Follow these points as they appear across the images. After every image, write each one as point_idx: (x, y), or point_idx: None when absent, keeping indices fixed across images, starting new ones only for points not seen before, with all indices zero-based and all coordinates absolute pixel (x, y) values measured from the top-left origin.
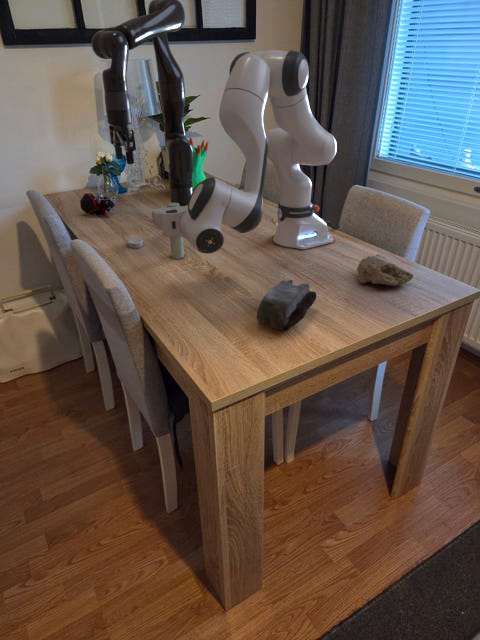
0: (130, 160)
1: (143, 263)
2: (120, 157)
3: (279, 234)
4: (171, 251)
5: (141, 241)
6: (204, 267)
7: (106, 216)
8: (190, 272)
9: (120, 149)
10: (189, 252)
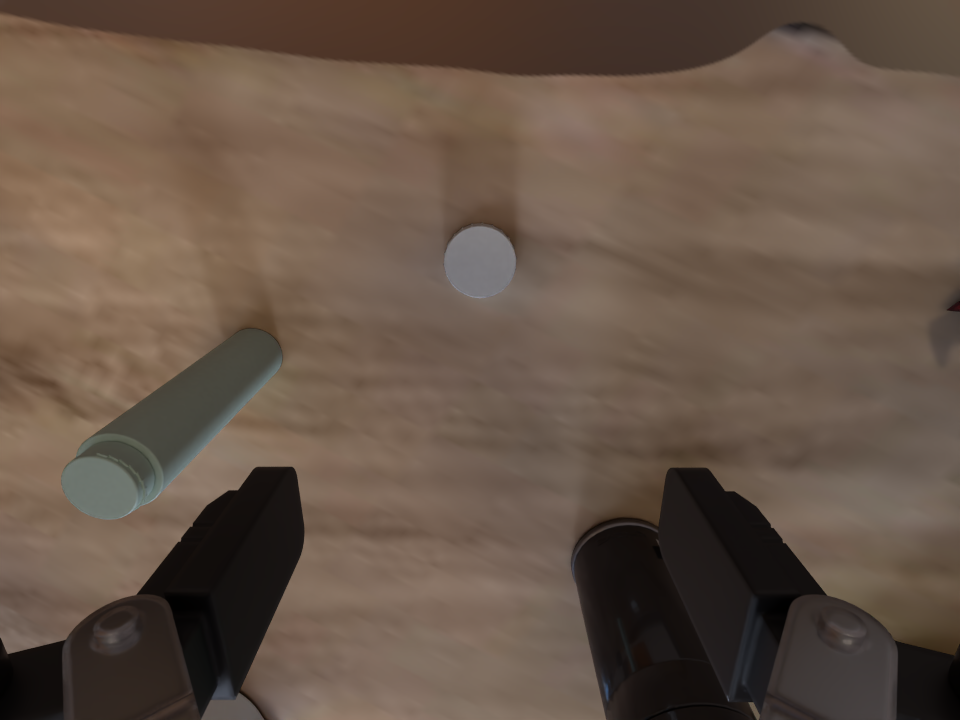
0: (206, 526)
1: (254, 192)
2: (669, 525)
3: None
4: (243, 337)
5: (455, 285)
6: (100, 384)
7: (957, 306)
8: (74, 317)
9: (719, 641)
10: (273, 411)
